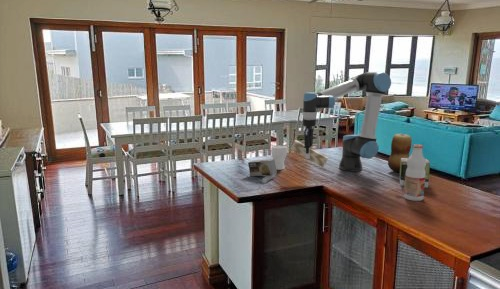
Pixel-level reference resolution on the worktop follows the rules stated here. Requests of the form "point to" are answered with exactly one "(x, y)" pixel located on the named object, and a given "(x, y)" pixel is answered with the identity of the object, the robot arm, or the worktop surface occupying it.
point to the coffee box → (262, 167)
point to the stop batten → (267, 178)
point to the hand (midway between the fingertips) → (308, 157)
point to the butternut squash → (399, 151)
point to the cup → (279, 156)
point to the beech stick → (314, 155)
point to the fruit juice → (415, 175)
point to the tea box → (404, 166)
